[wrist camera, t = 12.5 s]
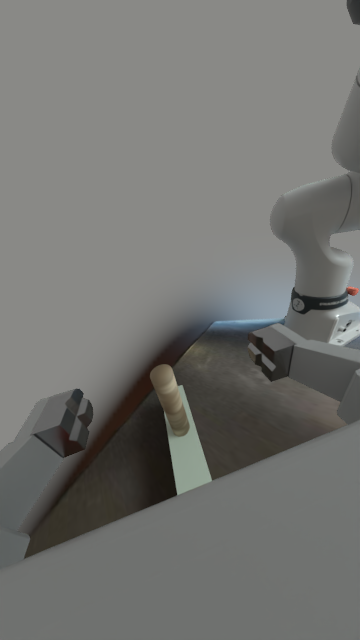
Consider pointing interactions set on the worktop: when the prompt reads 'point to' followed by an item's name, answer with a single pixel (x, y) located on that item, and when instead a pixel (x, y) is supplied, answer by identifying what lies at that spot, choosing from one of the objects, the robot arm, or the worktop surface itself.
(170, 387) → the dowel
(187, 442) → the pale mint rectangular block
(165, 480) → the worktop surface
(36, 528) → the worktop surface
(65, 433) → the robot arm
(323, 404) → the worktop surface
